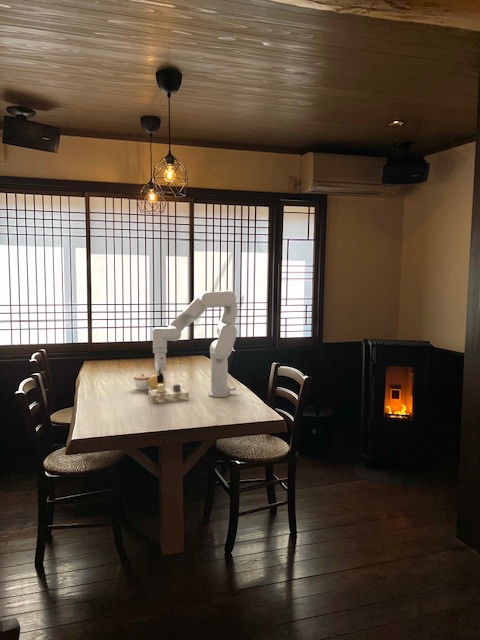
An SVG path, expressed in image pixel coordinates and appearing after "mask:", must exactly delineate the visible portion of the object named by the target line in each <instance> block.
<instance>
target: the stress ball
mask: <svg viewBox="0 0 480 640" xmlns="http://www.w3.org/2000/svg"><path fill="white" fill-rule="evenodd" d="M148 384H149V389H150V390H155V389H157V385H158V384H164V385H165V386H166V378H165V377H164V376H163V383H158V382H157V373H156V374H153V375H151V377H150V379H149V382H148Z"/></svg>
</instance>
